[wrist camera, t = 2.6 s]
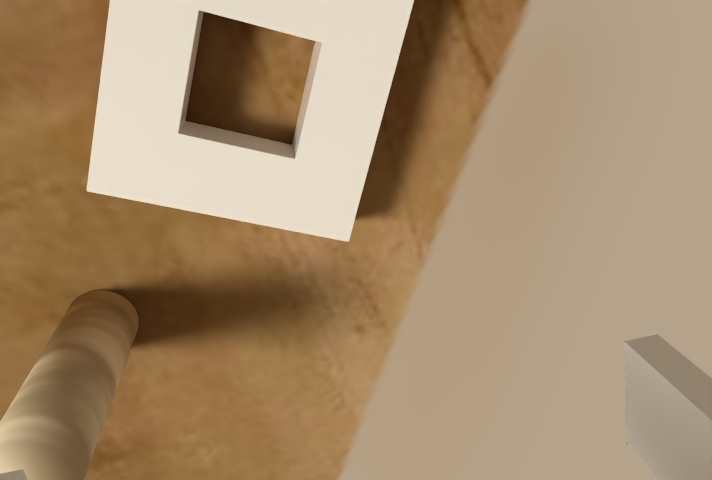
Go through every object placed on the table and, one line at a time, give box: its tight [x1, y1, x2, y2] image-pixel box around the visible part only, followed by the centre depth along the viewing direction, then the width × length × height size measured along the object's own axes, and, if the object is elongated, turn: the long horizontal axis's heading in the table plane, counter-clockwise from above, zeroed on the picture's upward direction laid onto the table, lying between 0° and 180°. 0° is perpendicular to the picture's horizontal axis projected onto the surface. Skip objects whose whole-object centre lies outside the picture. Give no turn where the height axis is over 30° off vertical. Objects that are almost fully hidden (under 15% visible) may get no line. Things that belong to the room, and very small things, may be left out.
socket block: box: [87, 0, 414, 242], centre depth 28 cm, size 12×12×3 cm
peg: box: [0, 290, 139, 480], centre depth 28 cm, size 4×4×12 cm
